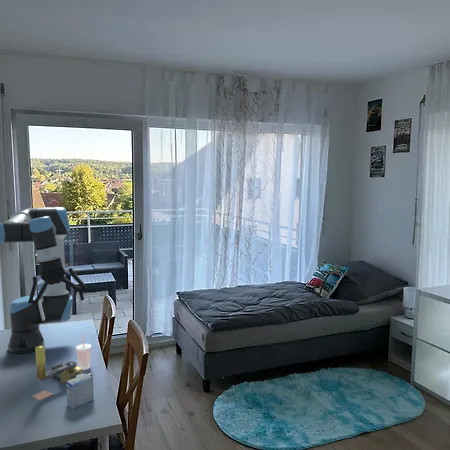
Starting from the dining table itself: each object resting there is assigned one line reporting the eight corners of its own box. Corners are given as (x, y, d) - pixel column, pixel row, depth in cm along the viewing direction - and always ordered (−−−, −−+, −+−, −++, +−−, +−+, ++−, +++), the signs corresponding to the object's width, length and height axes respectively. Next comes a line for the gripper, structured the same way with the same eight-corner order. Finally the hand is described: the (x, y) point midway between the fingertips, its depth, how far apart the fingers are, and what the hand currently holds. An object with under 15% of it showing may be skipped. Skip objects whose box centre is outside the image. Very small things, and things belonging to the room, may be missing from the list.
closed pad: (31, 397, 148) (31, 396, 148) (44, 391, 153) (44, 390, 153) (40, 401, 146) (40, 400, 146) (53, 394, 150) (53, 393, 150)
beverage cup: (81, 372, 168) (80, 338, 167) (73, 367, 172) (72, 334, 170) (95, 366, 173) (93, 334, 171) (87, 362, 177) (85, 330, 175)
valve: (50, 378, 162) (49, 364, 162) (62, 373, 167) (62, 359, 166) (81, 391, 153) (80, 375, 152) (93, 384, 158) (93, 370, 157)
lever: (72, 363, 162) (70, 333, 161) (78, 365, 160) (77, 335, 159) (34, 380, 148) (32, 347, 147) (41, 383, 146) (39, 349, 145)
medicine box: (86, 396, 149) (86, 372, 148) (94, 400, 147) (93, 376, 146) (66, 405, 143) (65, 381, 142) (73, 409, 140) (72, 385, 140)
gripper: (10, 269, 144) (25, 327, 147) (84, 252, 152) (97, 307, 155) (14, 266, 152) (28, 321, 154) (84, 249, 159) (97, 302, 162)
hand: (63, 314), depth 154 cm, fingers open, 13 cm apart
